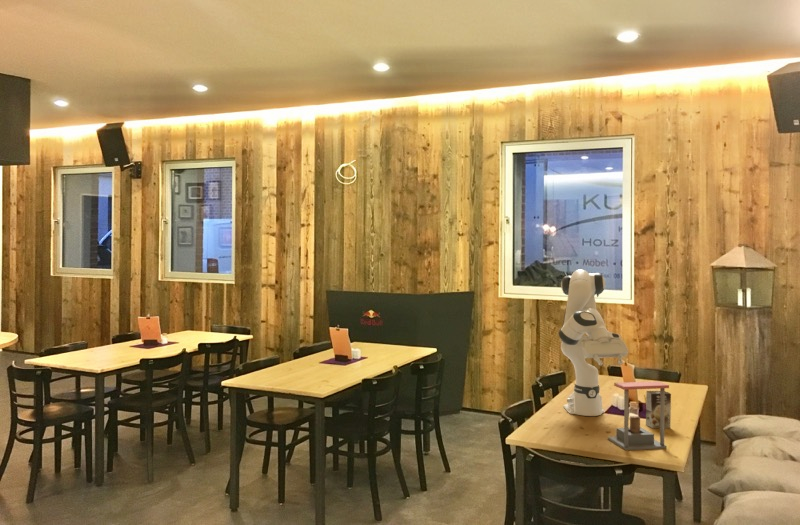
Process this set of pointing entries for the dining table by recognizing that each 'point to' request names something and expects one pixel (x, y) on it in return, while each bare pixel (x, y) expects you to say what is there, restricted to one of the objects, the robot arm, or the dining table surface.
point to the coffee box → (657, 409)
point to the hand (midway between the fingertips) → (611, 364)
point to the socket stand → (644, 437)
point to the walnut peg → (634, 424)
